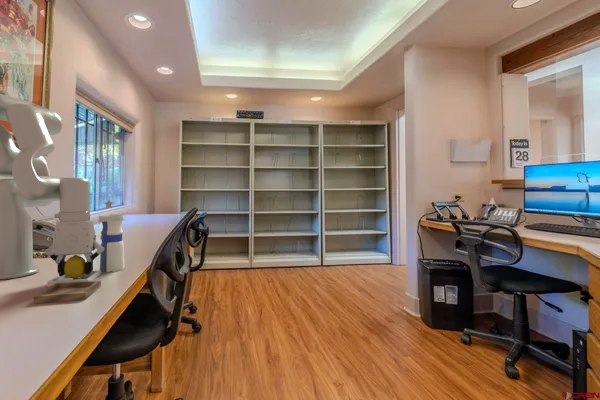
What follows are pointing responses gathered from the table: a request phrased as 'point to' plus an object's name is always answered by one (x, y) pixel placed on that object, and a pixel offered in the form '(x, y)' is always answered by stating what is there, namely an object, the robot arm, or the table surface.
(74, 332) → the table surface
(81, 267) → the lemon
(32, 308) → the table surface
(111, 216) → the water bottle
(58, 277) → the frame
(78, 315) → the table surface
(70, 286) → the tray
